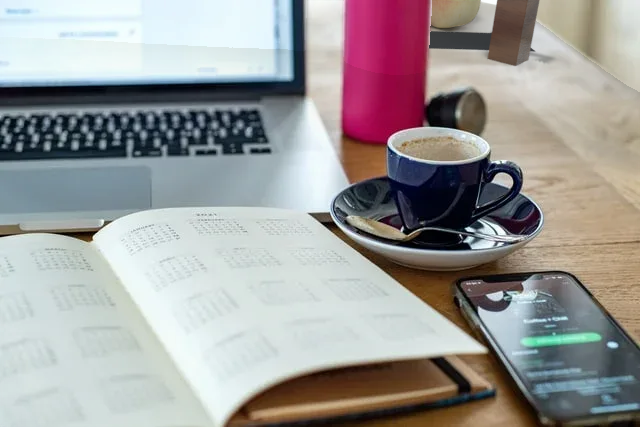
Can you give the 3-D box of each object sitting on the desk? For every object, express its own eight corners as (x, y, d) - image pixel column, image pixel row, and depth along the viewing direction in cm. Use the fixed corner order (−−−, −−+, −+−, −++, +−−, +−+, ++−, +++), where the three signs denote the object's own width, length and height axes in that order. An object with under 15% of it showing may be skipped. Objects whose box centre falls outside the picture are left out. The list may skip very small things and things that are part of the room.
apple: (408, 26, 132) (414, -28, 129) (434, 16, 139) (441, -36, 136) (460, 38, 128) (469, -17, 125) (485, 27, 135) (493, -25, 132)
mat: (512, 38, 131) (513, 33, 130) (535, 56, 123) (536, 51, 122) (408, 35, 128) (408, 30, 127) (424, 53, 120) (425, 48, 120)
